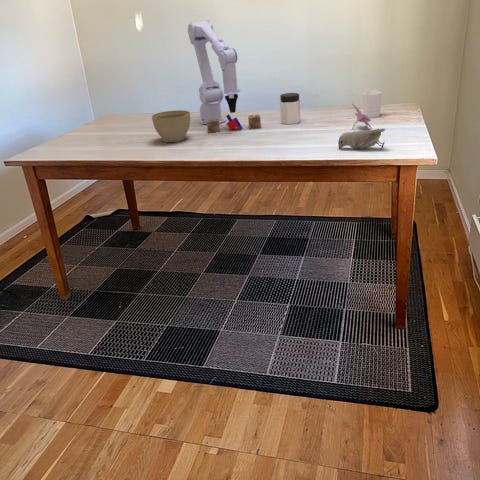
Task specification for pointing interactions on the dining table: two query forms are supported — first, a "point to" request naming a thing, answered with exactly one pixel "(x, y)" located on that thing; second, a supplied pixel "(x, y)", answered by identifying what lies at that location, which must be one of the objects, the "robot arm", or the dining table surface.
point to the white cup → (372, 103)
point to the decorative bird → (360, 139)
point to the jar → (290, 108)
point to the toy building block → (233, 123)
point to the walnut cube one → (254, 122)
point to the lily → (361, 117)
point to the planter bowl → (172, 124)
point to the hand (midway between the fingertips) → (232, 112)
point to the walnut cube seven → (213, 125)
